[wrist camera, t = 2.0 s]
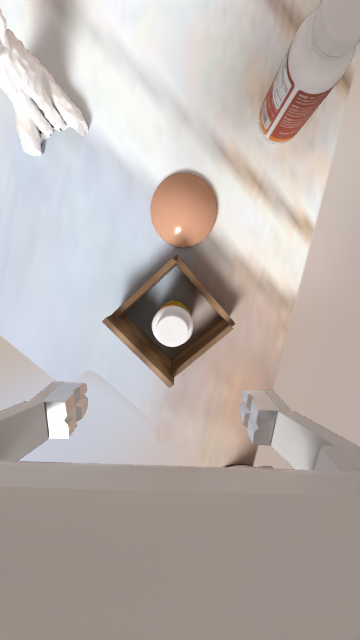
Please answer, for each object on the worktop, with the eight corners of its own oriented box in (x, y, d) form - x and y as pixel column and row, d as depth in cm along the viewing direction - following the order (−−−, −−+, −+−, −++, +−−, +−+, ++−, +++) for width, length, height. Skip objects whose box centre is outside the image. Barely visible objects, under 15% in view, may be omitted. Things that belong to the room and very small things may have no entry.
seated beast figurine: (34, 162, 26) (-82, 67, 14) (0, 93, 24) (-164, -80, 13) (92, 134, 26) (19, 11, 14) (61, 61, 24) (-51, -151, 12)
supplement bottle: (193, 303, 31) (200, 314, 21) (185, 333, 32) (189, 357, 22) (161, 296, 31) (153, 304, 21) (155, 327, 32) (144, 348, 22)
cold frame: (228, 318, 32) (242, 328, 25) (171, 366, 33) (169, 388, 27) (176, 257, 29) (176, 250, 22) (118, 312, 31) (101, 321, 24)
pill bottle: (309, 114, 25) (407, -10, 14) (280, 156, 26) (352, 69, 16) (276, 82, 24) (355, -75, 14) (248, 126, 26) (299, 13, 15)
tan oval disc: (228, 216, 28) (230, 214, 27) (181, 260, 29) (181, 260, 29) (186, 160, 26) (186, 156, 26) (138, 210, 28) (136, 208, 27)
